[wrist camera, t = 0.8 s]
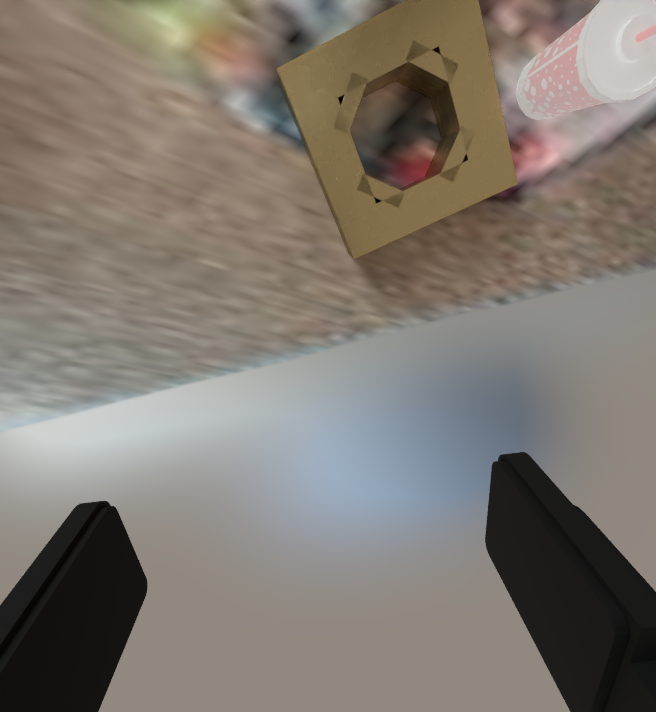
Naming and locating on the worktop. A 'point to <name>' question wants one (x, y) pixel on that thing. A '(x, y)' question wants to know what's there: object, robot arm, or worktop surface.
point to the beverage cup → (594, 61)
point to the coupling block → (423, 74)
